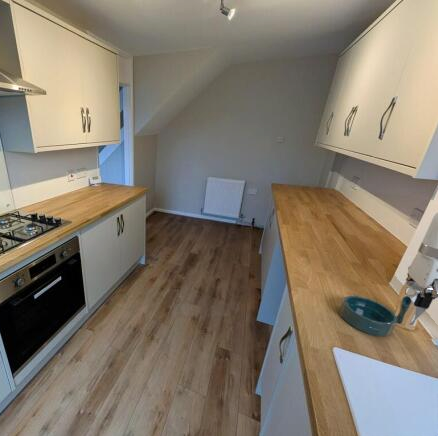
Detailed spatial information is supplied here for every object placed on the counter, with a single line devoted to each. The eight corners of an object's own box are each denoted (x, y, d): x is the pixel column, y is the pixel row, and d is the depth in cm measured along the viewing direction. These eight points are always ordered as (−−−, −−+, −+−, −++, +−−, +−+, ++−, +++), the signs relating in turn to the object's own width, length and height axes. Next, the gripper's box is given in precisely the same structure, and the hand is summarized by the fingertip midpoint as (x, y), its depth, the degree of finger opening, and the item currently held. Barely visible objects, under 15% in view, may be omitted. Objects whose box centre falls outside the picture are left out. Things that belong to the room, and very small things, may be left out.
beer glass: (389, 312, 86) (405, 278, 81) (417, 324, 82) (436, 287, 76) (387, 322, 82) (403, 286, 77) (416, 334, 77) (436, 296, 72)
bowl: (381, 315, 85) (386, 302, 84) (399, 343, 74) (405, 329, 72) (335, 303, 91) (339, 291, 89) (345, 328, 79) (350, 315, 77)
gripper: (476, 268, 63) (447, 321, 70) (436, 243, 78) (415, 288, 84) (438, 262, 66) (412, 313, 73) (406, 238, 81) (387, 282, 87)
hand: (414, 299), depth 78 cm, fingers closed on beer glass, 7 cm apart
